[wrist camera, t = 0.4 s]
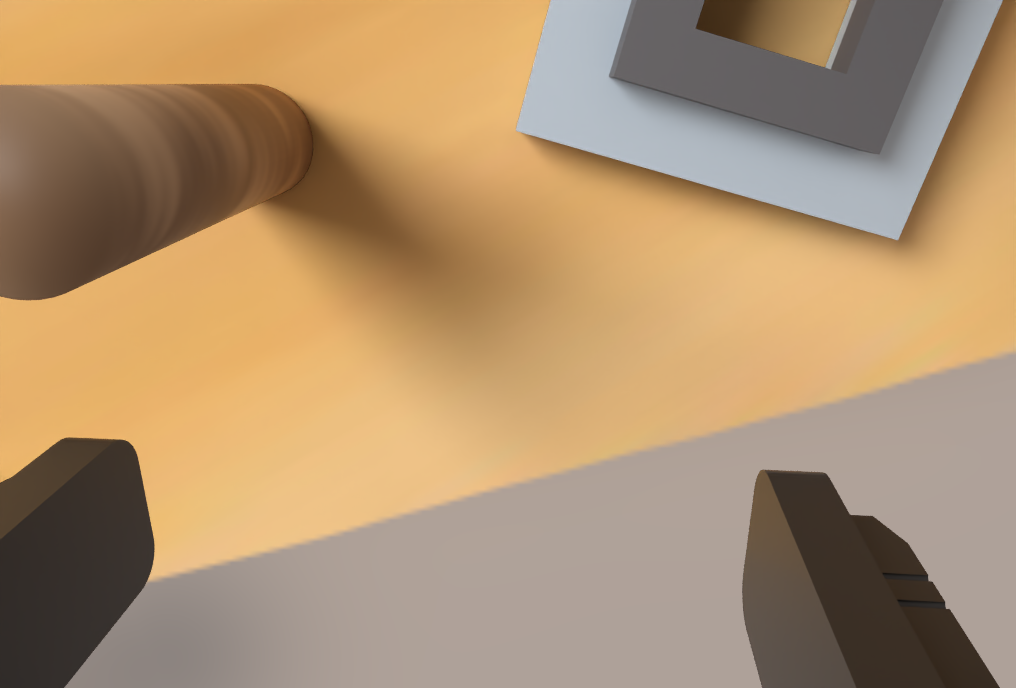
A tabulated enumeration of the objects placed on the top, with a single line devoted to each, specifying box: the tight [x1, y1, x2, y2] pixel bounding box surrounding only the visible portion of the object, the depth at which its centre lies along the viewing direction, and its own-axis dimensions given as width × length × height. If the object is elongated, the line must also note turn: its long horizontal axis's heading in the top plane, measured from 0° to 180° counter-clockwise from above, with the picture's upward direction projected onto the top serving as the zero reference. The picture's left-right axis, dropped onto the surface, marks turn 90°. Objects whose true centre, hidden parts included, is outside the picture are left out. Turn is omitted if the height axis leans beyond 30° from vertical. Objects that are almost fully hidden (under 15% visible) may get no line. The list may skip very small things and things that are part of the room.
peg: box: [0, 84, 313, 300], centre depth 22 cm, size 4×4×15 cm
